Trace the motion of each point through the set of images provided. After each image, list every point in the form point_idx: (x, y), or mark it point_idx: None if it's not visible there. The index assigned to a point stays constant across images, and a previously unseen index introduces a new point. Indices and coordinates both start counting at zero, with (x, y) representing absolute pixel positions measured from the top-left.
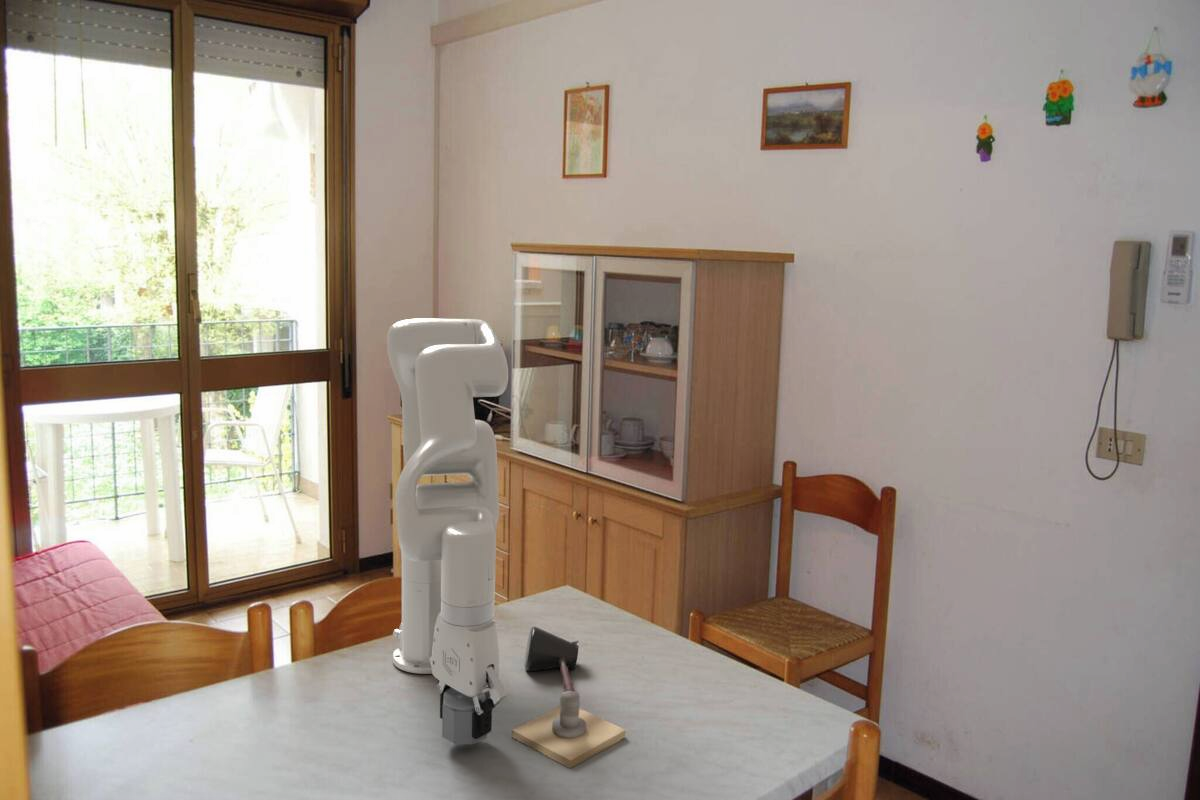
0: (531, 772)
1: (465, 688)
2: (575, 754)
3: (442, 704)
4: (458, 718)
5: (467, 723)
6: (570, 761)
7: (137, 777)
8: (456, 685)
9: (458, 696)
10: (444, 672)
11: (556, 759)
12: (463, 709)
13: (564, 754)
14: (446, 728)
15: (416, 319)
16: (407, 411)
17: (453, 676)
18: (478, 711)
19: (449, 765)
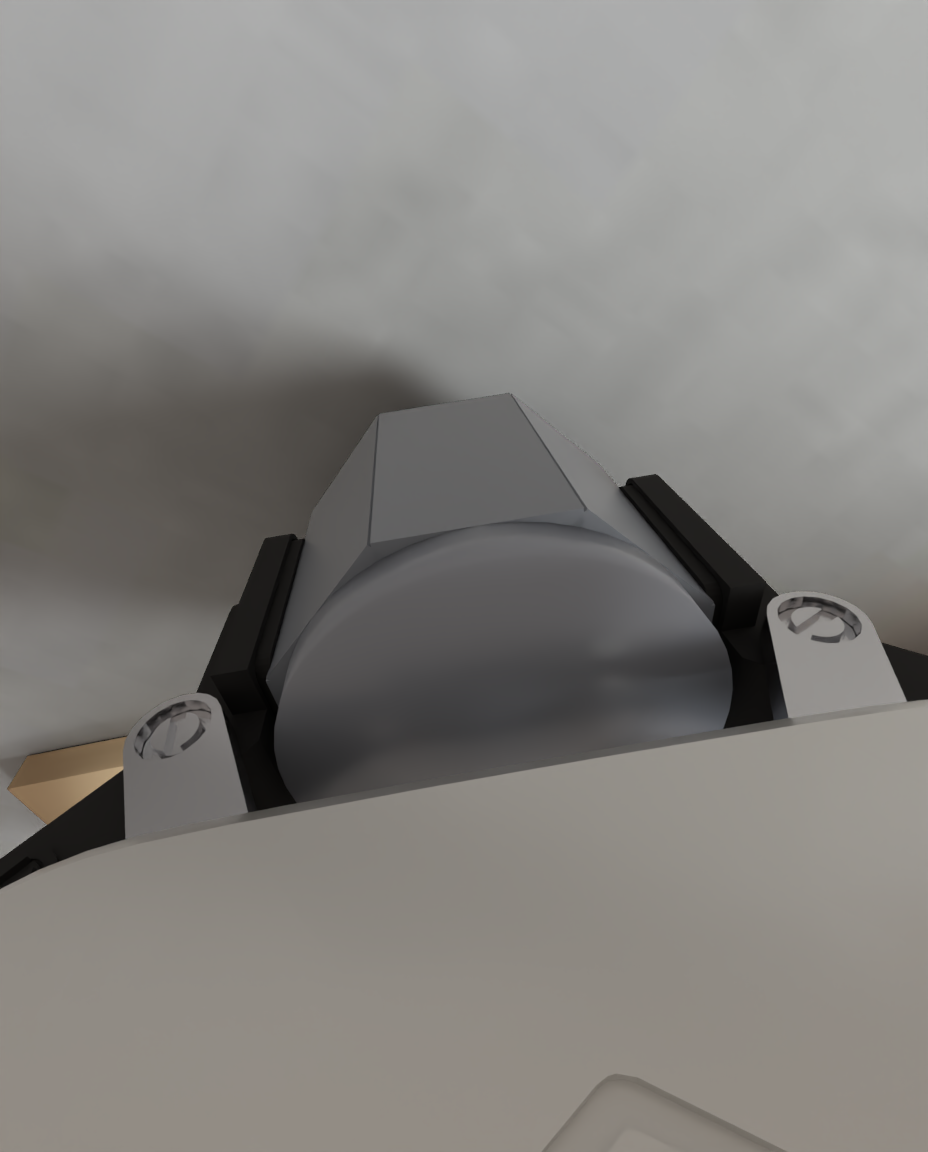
0: (45, 635)
1: (69, 999)
2: (58, 813)
3: (683, 537)
4: (348, 535)
5: (309, 569)
6: (10, 784)
7: None
8: (373, 896)
9: (538, 693)
10: (900, 1003)
11: (109, 745)
12: (313, 631)
13: (74, 787)
14: (474, 429)
15: None
16: None
17: (504, 1127)
18: (189, 720)
19: (309, 313)
